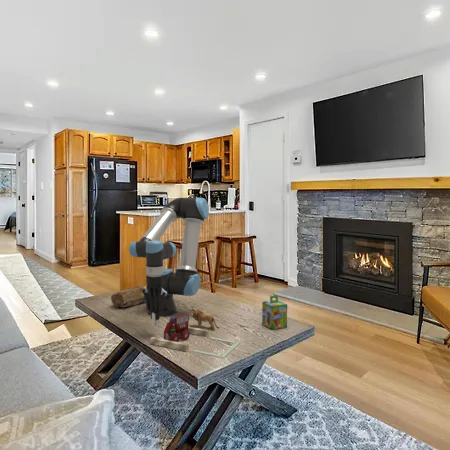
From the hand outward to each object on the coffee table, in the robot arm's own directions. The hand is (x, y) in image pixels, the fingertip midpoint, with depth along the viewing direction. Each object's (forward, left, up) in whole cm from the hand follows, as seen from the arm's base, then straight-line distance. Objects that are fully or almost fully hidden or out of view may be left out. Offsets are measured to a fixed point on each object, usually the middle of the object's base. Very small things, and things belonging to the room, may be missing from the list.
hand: (155, 326), depth 164 cm
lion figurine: (+15, +18, -4) cm, 24 cm away
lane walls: (+13, 0, -4) cm, 14 cm away
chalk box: (+45, +35, -4) cm, 58 cm away
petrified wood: (-42, +32, -4) cm, 53 cm away
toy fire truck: (+11, 0, -4) cm, 12 cm away
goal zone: (+30, 0, -4) cm, 31 cm away
